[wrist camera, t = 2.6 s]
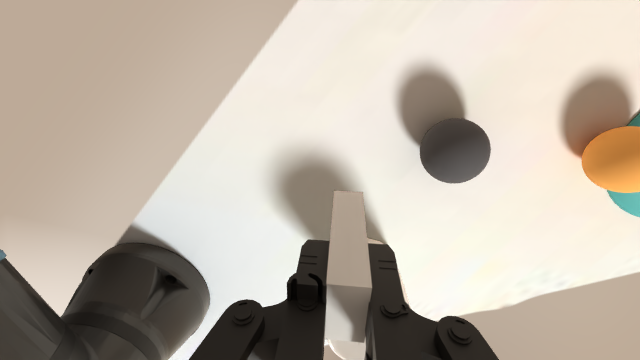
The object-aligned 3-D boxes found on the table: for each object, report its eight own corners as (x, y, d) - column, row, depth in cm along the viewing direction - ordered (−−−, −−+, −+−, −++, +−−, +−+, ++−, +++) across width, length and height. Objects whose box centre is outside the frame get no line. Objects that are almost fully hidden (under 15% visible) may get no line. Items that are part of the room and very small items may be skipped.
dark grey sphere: (409, 166, 30) (422, 192, 25) (419, 110, 27) (436, 127, 22) (466, 169, 29) (491, 196, 24) (481, 113, 27) (512, 130, 22)
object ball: (557, 174, 29) (601, 203, 24) (581, 117, 26) (635, 136, 21) (617, 177, 28) (675, 207, 24) (647, 120, 26) (717, 140, 21)
